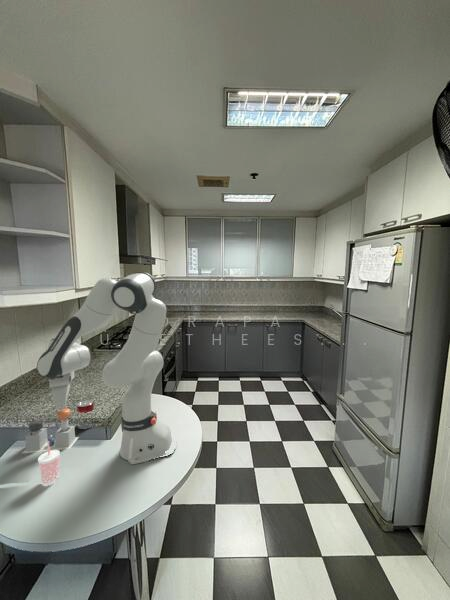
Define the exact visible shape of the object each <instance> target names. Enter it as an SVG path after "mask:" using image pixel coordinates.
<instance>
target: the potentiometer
mask: <svg viewBox="0 0 450 600" xmlns="http://www.w3.org/2000/svg"><path fill="white" fill-rule="evenodd" d="M47 440H48V441H49V447H51V446H53V445H55V437H53V434H50V435H49V438H47Z"/></svg>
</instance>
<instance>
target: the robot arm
mask: <svg viewBox="0 0 450 600" xmlns="http://www.w3.org/2000/svg"><path fill="white" fill-rule="evenodd" d="M156 286H157V285H156V280H155V278H154V277H153V276H152V275H151V274H150V273H148V272H144V271H138V272H134V273H131V274H129V275H126V276H125V277H124V278H122V279H120V280H118V281H117V280H115V279H113V278H109V277H105V278H101V279H99V280H98V281H97V282H96V283H95V284H94V285H93V287H92V289H90V291H89V293H88V295H87V297H86V299H85V300H84V302H83V304H82V305H81V307H80V308H79V309H78V311H77V312H76V313H75V314H74V315H73V316H72V317H70V318H69V319H68V320H67V321H66V322H65V323H64V325H63V326H62V327H61V328H60V330H59V331H58V333H57V335H56V336H55V337H54V338H51V339H50V340H49V341H48V345H47V350H45V352H43V353H42V354H41V355H40V357H39V358H38V361H37V364H36V371H37V373H38V375H39V376H41V377H43V378H44V379H47V380H48V382H49V383H48V384H49V388H51V394H52V401H53V405H54V407H55V408H59V407H60V410H62V409H67V408H66V407H67V401H68V397H69V393H70V389H71V383H72V381H73V379H74V378H75V377H76V376H75V372H77V371H79V370H81V369H84V368H86V367H88V366H90V364H91V362H92V356H93V355H92V351H91V349H90V348H89V347H88V346H86V345H84V344H80V343H78V342H76V341H77V340H79V339H80V338H81V337H84V336H85V335H88V334H90V333H92V332H95V331H98V330H100V329H103V328H105V327H106V326H107V325H109V323H110V322H111V321H112V320H113V318H114V316H115V314H116V312H117V310H118V308H119V309H120V310H123V311H126V312H128V313H129V314H131V315H135V316H134V320H133V323H132V327H131V330H130V333H129V336H128V339H127V340H126V342H125V344H124V346H122V347H121V350H120V351H119V352H118V353H117V354H116V356H114V358H112V359H111V360H110V361H108V363H106V364H105V365H104V367H103V369H102V372H101V373H102V374H101V376H102V381H103V383H104V384H105V386H107V387H108V388H109V389H119V388H125V387H127V386H129V387H128V389H127V390H126V392H124V394H123V396H122V399H121V409H122V410H121V411H122V414H121V415H122V417H121V420H120V425H121V426H120V427H121V433H122V438H121V444H120V448H119V456H120V457H121V458H122V459H124V460H126V461H128V463H129V464H130V465H136V464H140V463H141V464H142V463H145V462H149V460H150V461H152V460H151V459H154V458H157V457H160V456H163V455H166V454H169V453H165V451H167V450H169V448H170V446H171V443H172V437H171V433H172V432H171V429H170V427H169V425H168V424H166V423H164V422H162V421H160V420H159V419H157V417H158V416H157V410H155V412H154V411H152V392H153V388H154V384H155V381H156V379H157V377H158V375H159V374H160V372H161V371H162V369H163V368H164V365H165V363H164V357H163V355H162V353H161V352H159V351H158V350H156V349H157V347H158V346H159V342H160V338H161V336H162V334H163V330H164V327H165V323H166V317H167V306H166V304H165V303H164V302H163V301H161V300H159V299H157V298H155V297H154V293H155V291H156ZM154 460H155V459H154Z"/></svg>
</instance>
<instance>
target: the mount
mask: <svg viewBox="0 0 450 600" xmlns="http://www.w3.org/2000/svg"><path fill="white" fill-rule="evenodd" d="M68 427H69V430H68V431H66V432H61V427H60V428H59V429H58V430H56V432H55V433H54V438H55V445H53V446H51V447H49V448H50V451H51V450H59V451H61V450H70V449H71V448H72V447H73V445H74V444H75V443H76V441H77V440H78V439H79V438H80V437H79V436H76V431H75V430H76V429H75V425H68ZM47 428H48V427H43V428H42V429H40V433H39V434H33V435H32V432H30V431H29V432H28V433H27V434H26V435H25V437H24V441H25V449H24V450H23V451H22V452H21V453H20V454H21V455H22V454H30V453H31V454H32V453H40V452H47V451H48V443H47V441H48V429H47Z"/></svg>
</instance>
